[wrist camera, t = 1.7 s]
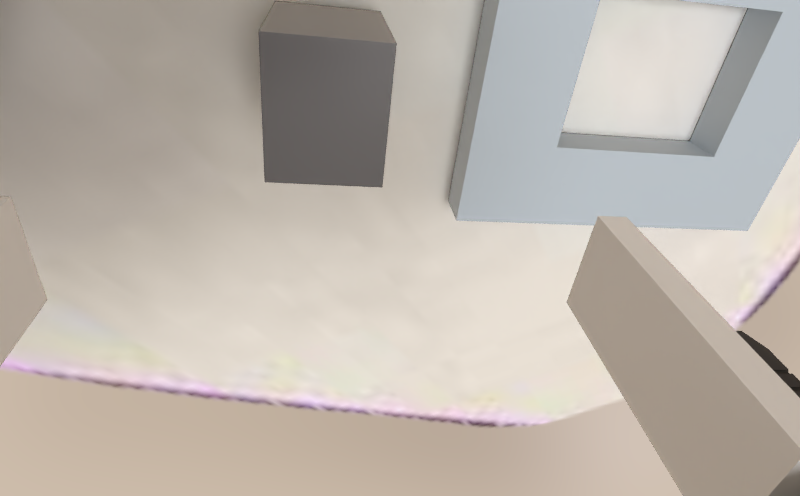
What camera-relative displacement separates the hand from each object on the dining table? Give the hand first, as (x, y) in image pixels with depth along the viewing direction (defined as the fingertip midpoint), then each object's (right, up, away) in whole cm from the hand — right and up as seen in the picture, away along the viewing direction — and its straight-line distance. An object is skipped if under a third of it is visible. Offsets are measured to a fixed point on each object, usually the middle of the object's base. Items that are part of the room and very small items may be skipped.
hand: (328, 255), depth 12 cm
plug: (-2, +10, +15) cm, 18 cm away
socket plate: (+16, +10, +17) cm, 26 cm away
